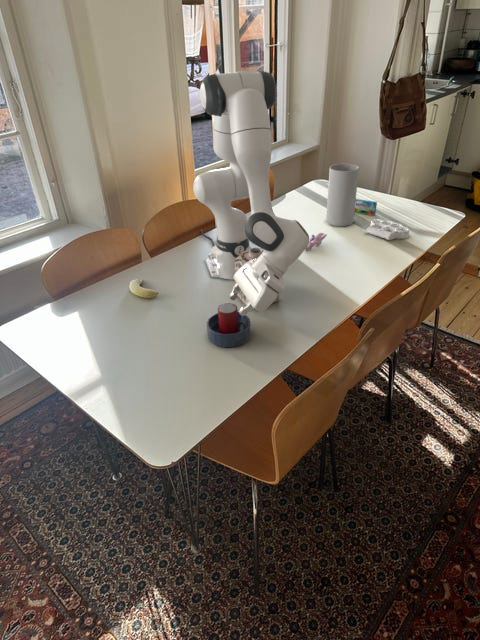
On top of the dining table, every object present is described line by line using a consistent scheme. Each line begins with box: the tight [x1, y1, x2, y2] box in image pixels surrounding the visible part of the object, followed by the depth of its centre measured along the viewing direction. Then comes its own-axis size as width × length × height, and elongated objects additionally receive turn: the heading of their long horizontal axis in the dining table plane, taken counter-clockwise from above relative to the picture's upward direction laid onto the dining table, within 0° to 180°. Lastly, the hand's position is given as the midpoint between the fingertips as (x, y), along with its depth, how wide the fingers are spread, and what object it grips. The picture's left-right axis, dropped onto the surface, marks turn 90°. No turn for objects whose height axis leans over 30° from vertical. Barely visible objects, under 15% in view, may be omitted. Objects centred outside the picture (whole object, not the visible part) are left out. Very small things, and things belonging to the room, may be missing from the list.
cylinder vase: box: [325, 163, 360, 227], centre depth 207 cm, size 12×12×25 cm
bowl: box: [206, 311, 252, 348], centre depth 140 cm, size 13×13×5 cm
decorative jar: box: [234, 247, 280, 307], centre depth 154 cm, size 12×12×18 cm
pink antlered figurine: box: [305, 232, 328, 252], centre depth 191 cm, size 6×6×15 cm
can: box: [217, 302, 239, 334], centre depth 138 cm, size 6×6×10 cm
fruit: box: [129, 278, 159, 299], centre depth 165 cm, size 7×15×3 cm, turn 33°
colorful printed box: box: [354, 198, 378, 216], centre depth 220 cm, size 12×2×6 cm, turn 58°
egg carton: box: [365, 218, 410, 241], centre depth 200 cm, size 3×18×15 cm
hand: (235, 306), depth 136 cm, fingers open, 8 cm apart
